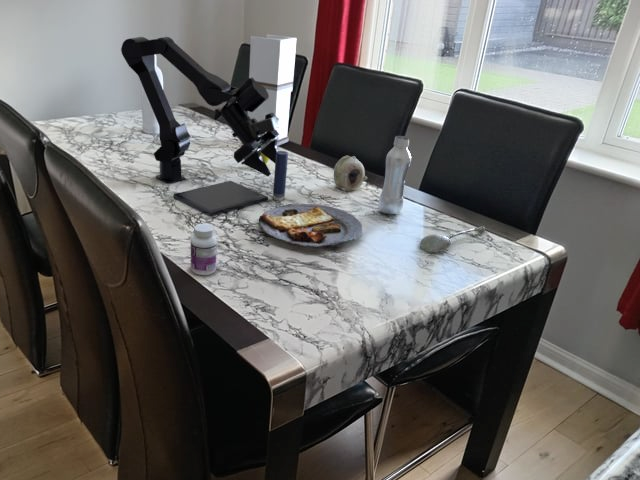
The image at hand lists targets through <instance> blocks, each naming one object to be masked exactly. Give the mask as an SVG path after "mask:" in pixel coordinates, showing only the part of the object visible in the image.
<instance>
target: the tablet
mask: <svg viewBox="0 0 640 480" xmlns="http://www.w3.org/2000/svg"><path fill="white" fill-rule="evenodd" d="M173 198H174V199H176V200H178V201H180V202H181V203H184V204H186V205H188V207H192V208H194V209H195V210H196V211H199V212H201V213H203V214H205V215H207V216H209V217H213V216H218V215H219V214H223V213H227V212H232V211H234V210H238V209H242V208H245V207H248V206H253V205H256V204H260V203H263V202H267V201H269V196H267V195H265V194H262V193H260V192H258V191H256V190H254V189H251V188H249V187H246V186H244V185H242V184H240V183H237V182H235V181H232V180H228V181H223V182H218V183H215V184H210V185H207V186H206V185H205V186H202V187H197V188H194V189H190V190H189V189H188V190H186V191H181V192H177V193H173Z"/></svg>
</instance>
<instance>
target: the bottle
mask: <svg viewBox="0 0 640 480" xmlns="http://www.w3.org/2000/svg"><path fill="white" fill-rule="evenodd" d="M154 56H155V71H156V74H157V76H158V79H159V81H160V83H161V86H162V88H163V89H164V75H163V72H162V70H161V68H160V67H158V63H157V61H158V59H157V54H155V55H154ZM140 93H141V94H140V95H141V96H140V97H141V118H142V123H141V126H142V132H143V133H145V134H149V135H159V124H158V122H157V119H156V117H155V114H154V112H153V110H152V107H151V105H150V103H149V100H148V98H147V95H146V93H145V91H144V88H143V86H142V83H141V82H140Z"/></svg>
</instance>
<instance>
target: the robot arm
mask: <svg viewBox="0 0 640 480" xmlns="http://www.w3.org/2000/svg"><path fill="white" fill-rule="evenodd" d="M120 52H121V55H122V57H123V58H124V60H125V62H126V63H127V65H128V68H130V69H131V70H132V71H133V72H134V73H135V74H136V75H137V77H138V79H139V81H140V84H141V83H142V86H143V88H144V91H145V93H146V95H147V98H148V100H149V103H150V105H151V107H152V110H153V112H154V114H155V117H156V119H157V122H158V124H159V134H158V135H159V136H158V138H159V142H160V145H161V146H159V148H157V149H156V150H155V151H154V152H153V156H154V159H155V161H156V162H159V174H156V175H155V178H156V179H157V180H160V181H162V182H164V183H166V184H171V183H175V182H176V183H177V182H181V181H184V180H186V177H185V176H183V175H182V159H181V157H183V156H185V153H186V151H187V150H188V149H189V148H190V145H191V139H190V138H191V136H192V135H190V133H189V132H188V129H187V124H186V123H181V124H180V123H179V122H178V120H177V119H176V118H175V115H174V113H173V110H172V108H171V105H170V103H169V101H168V98H167V95H166V94H165V90H164V87H163V88H162V86H161V83H160V81H159V79H158V76H157V74H156V71H155V56H154V55H155V54H156V55H160V56H162V57H163V58H164V59H166V60H167V61H168V62H169V63H170V64H171V65H172V66H173V67H174V68H176V69H177V70H178V71H179V72H180V73H181V74H182V75H183V76H184V77H186V78H187V79H188V80H189V81H190V82H191V83H192V85H194V87H195V88H196V90H197V92H198V94H199V95H200V96H201V98H202V100H204V102H205V103H206V104H208V105H209V106H211V107H218V106H220V105H222V104H224V105H223V106H222V107H221V108H220V107H218V108H216V109H214V119H213V120H214V121H218V120H220V119H223V120H224V121H225V122H226V124H227V125H228V126H229V128H230V129H231V131H232V133H231V136H232V137H233V138H237V139H238V140H239V141H240V143H241V144H242V145H241V146H240V147H239V148H237V149H236V150H235V151H234V152H233V159H234V160H235V161H236V163H237V164H239V163H240V164H241V165H244V166H247V167H248V168H251V169H253V170H255V171H256V172H259V173H260V174H263V175H264V176H266V177H270V176H271V175H272V173H271V171H270V169H269V167H268V166H267V163H266V164H265V162H264V160H263V159H262V157H261V153H262V154H264V155H265V156H266V157H267V158H269V161H271V162H272V163H274V164H275V160H276V152H277V151H279V148H278V146H277V141H278V139H279V137H277V136H278V135H279V133H278V132H277V131H276V128H279V125H278V121H279V118H277V116H275V115H274V114H273V113H269V114H267V115H265V119H264V120H262V121H259V122H258V121H257V120H256V119H255V118H252V119H251V118H250V117H249V116H248V111H249V112H253V111H255V110H256V109H257V108H258V107H259V106H260V105H261V104H262V103H264V102H265V101H266V100H267V99H268V98H269V95H268V92H267V90H266V89H265V87H264V86H262V85H261V84H260V83H259V82H257V81H255V80H254V79H253V77H251V78H249V77H248V79H247V80H246V81H245V82H244V83H243V84H242V86H240V87H236V86H231V85H230V83H229V82H228V81H226V80H224V79H223V78H222V77H219V75H216V74H214V73H211V72H209V71H208V70H206V69H205V68H204V67H203V66H201V65H200V64H199V63H198V62H197V61H196V60H194V58H192V56H190V55H189V54H188V53H187V52H186V51H185V50H183V49H182V48H181V47H180V45H178V44H176V42H175V41H174V39H173V38H171V37H170V36H164V37H158V38H154V39H149V38H146V37H144V36H137V37H132V38H131V37H130V38H126V39H125V40H124V41H123V42H122V44H121V48H120ZM232 100H234V101H232ZM229 101H232V102H229ZM276 137H277V138H276ZM275 138H276V139H275ZM257 148H258V150H257ZM261 149H262V150H261Z"/></svg>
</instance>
